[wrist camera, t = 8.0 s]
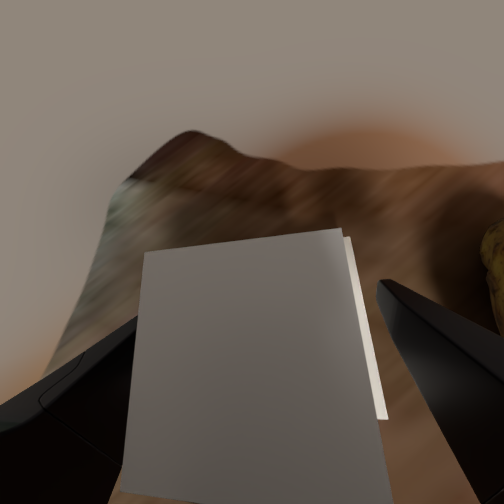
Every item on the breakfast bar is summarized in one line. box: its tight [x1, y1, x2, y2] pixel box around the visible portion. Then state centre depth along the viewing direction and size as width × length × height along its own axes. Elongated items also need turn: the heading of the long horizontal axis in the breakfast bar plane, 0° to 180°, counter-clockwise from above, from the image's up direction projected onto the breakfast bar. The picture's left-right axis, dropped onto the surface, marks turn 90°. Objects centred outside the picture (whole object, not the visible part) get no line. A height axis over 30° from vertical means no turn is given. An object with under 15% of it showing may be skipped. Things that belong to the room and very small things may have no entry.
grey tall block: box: [120, 228, 393, 504], centre depth 10 cm, size 5×5×12 cm
